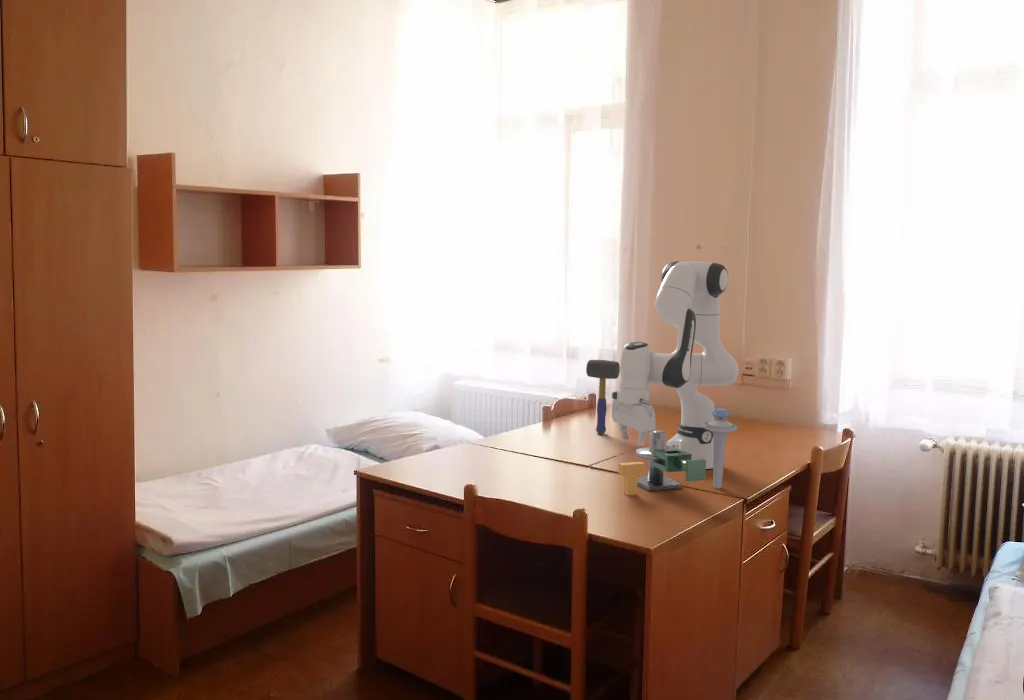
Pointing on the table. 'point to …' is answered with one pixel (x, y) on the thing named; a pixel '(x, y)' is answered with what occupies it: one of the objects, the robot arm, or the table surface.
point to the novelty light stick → (719, 441)
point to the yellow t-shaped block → (631, 476)
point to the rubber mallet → (602, 386)
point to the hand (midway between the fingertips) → (632, 442)
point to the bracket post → (667, 464)
